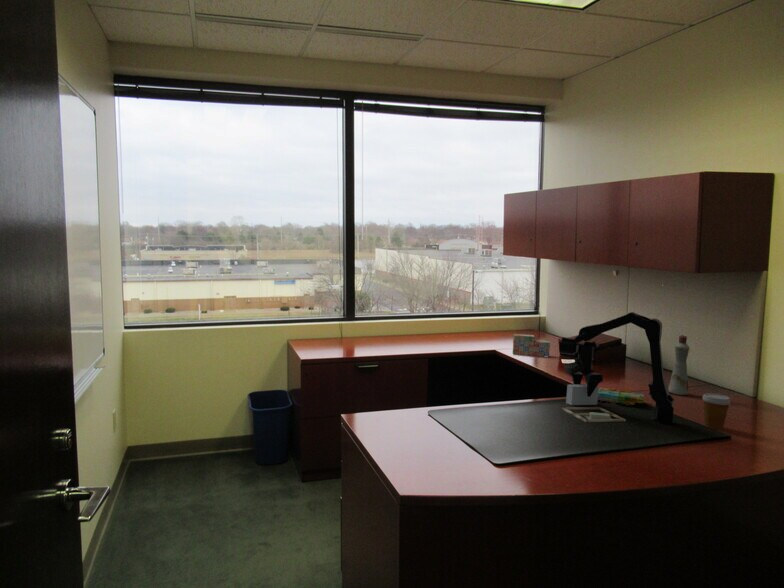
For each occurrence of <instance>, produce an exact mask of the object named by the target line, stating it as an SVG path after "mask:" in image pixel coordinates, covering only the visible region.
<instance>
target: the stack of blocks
mask: <svg viewBox="0 0 784 588" xmlns="http://www.w3.org/2000/svg"><path fill="white" fill-rule="evenodd" d="M550 345H551V342H550V341H549V340H537V339H536V336H535V335H532V334H522V333H521V334H517V333H513V339H512V355H513V356H523V357H535V356H549V357H550V350H551V349H550V348H551V346H550Z"/></svg>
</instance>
